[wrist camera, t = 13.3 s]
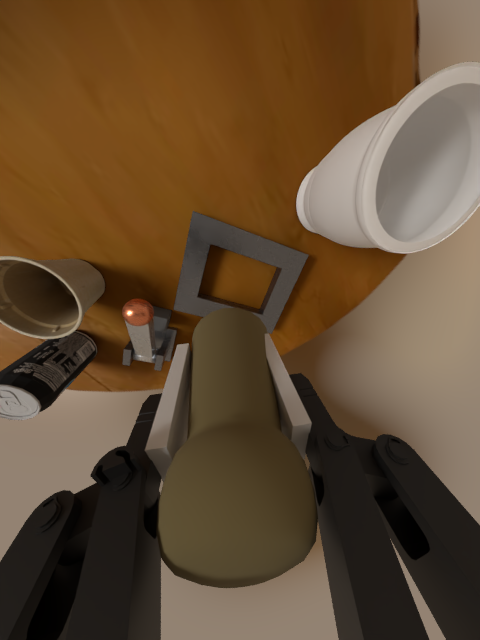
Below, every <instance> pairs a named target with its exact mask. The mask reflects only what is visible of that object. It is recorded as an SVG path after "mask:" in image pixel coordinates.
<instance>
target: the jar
mask: <svg viewBox="0 0 480 640" xmlns="http://www.w3.org/2000/svg"><path fill="white" fill-rule="evenodd" d="M479 206H480V62H463V63H458V64H454V65H452V66H449V67H446V68H444V69H442V70H440V71H438V72H436V73H435V74H433V75H431V76H430V77H429V78H427V79H426V80H424V81H423V82H422V83H421V84H419V85H418V86H416V87H415V88H414V89H413V90H411V91H410V92H409V93H408V94H407V95H406V96H405V97H404V98H402V99H401V100H400V101H399V102H398V104H397V105H396V106H393V107H391V108H389V109H387V110H385V111H383V112H381V113H379V114H377V115H375V116H373V117H372V118H370V119H368V120H367V121H365V122H364V123H362V124H361V125H359V126H358V127H356V128H355V129H354V130H353V131H351V132H350V133H349V134H348V135H346V136H345V137H344V138H343V139H342V140H341V141H340V142H339V143H338V144H337V145H336V146H335V147H334V148H333V149H332V150H331V151H330V153H329V154H328V155H327V156H326V157H325V158H324V159H323V160H322V161H321V162H320V163H319V165H318V166H316V167H315V168H313V169H312V170H311V171H310V172H309V173H308V174H307V175H306V177H305V178H304V180H303V181H302V183H301V185H300V188H299V191H298V194H297V200H296V209H297V214H298V217H299V220H300V222H301V223H302V225H303V226H304V227H305V228H306V229H307V230H309V231H311V232H313V233H318V234H320V235H322V236H324V237H326V238H328V239H330V240H332V241H334V242H336V243H339V244H342V245H346V246H350V247H358V248H379V249H381V250H384V251H387V252H392V253H414V252H418V251H422V250H424V249H427V248H430V247H432V246H434V245H436V244H438V243H439V242H441V241H443V240H444V239H446V238H447V237H449V236H450V235H451V234H452V233H454V232H455V231H456V230H457V229H458V228H460V227H461V226H462V225H463V224H464V223H465V222H466V221H467V220H468V219H469V218H470V217H471V215H472V214H473V213H474V212H475V211H476V209H477V208H478V207H479Z"/></svg>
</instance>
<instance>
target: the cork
mask: <svg viewBox="0 0 480 640" xmlns="http://www.w3.org/2000/svg"><path fill="white" fill-rule="evenodd" d="M265 334H268V333H267V329H266V326H265V325H264V323H263V322H262V321H261V319H260V318H259V317H257V316H256V315H254V314H253V313H251V312H250V311H247V310H243V309H239V308H223V309H219V310H216V311H213V312H211V313H209V314H208V315H207V316H205V317H204V318H202V319H201V320H200V322H199V323H198V325H197V326H196V327H195V330H194V333H193V337H192V353H191V372H190V392H189V412H188V431H187V441H186V442H185V443H184V444H183V445H182V446H181V447H180V448H179V450H178V451H177V452H176V453H175V455H174V458H173V460H172V462H171V464H170V466H169V469H168V471H167V473H166V477H165V480H164V483H163V487H162V491H161V495H160V499H159V503H158V508H157V526H156V534H157V539H158V544H159V549H160V555H161V558H162V560H163V561H164V563H165V564H166V565H167V566H168V568H169V569H170V570H171V571H172V572H173V573H174V575H176V576H179V577H181V578H184V579H186V580H189V581H192V582H195V583H198V584H201V585H206V586H212V587H218V588H237V587H245V586H250V585H255V584H259V583H263V582H265V581H268V580H270V579H273V578H275V577H278V576H280V575H282V574H283V573H285V572H286V571H288V570H289V569H291V568H293V567H294V566H296V565H297V564H299V563H301V562H302V561H304V559H305V558H306V556H307V555H308V553H309V552H310V550H311V548H312V547H313V545H314V543H315V542H316V533H317V522H318V513H317V506H316V499H315V492H314V489H313V485H312V482H311V479H310V476H309V473H308V470H307V467H306V464H305V461H304V460H303V458H302V456H301V454H300V453H299V451H298V449H297V447H296V446H295V444H294V443H293V442H292V441H291V440H290V439H288V438H287V437H286V436H285V435H284V434H283V433H282V429H281V422H280V415H279V408H278V403H277V398H276V393H275V388H274V383H273V379H272V376H271V372H270V368H269V365H268V361H267V357H266V347H265Z"/></svg>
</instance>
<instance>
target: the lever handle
mask: <svg viewBox="0 0 480 640" xmlns="http://www.w3.org/2000/svg"><path fill="white" fill-rule="evenodd" d="M122 315H123V318H124V319H125V322H126V325H127V329H128V332H129V335H130V338H131V341H132V344H133V347H134V350H135V351H134V354H133V360H138V361H144V362H150V363H155V362H156V357H157V354H158V351H159V348H156V344H155V331H154V318H153V316H154V309H153V307H152V305H151V304H150V303H149V302H148V301H146V300H144V299H139V298H137V299H132V300H130V301H128V302H127V303H126V304H125V305H124V307H123V309H122Z"/></svg>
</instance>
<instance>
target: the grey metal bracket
mask: <svg viewBox="0 0 480 640" xmlns="http://www.w3.org/2000/svg"><path fill="white" fill-rule="evenodd" d="M154 331H155V344H156V348H159V351H158V354H157V357H156V362H155V368H154V370H159V371H161V369H162V366H163V364H164V361H170V360H171V356H172V351H173V347H174V342H175V337H176V333H177V328H174V327H169V326H168V327H167V329H166V331H165V332H162V331H158V330H154ZM134 351H135V350H134V347H133V344H132V341H131V340H130V341H129V343H128V344H127V346H126V347H125V348H124V353H123V365H128V366H130V364H131V363H132V361H133V354H134Z"/></svg>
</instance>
